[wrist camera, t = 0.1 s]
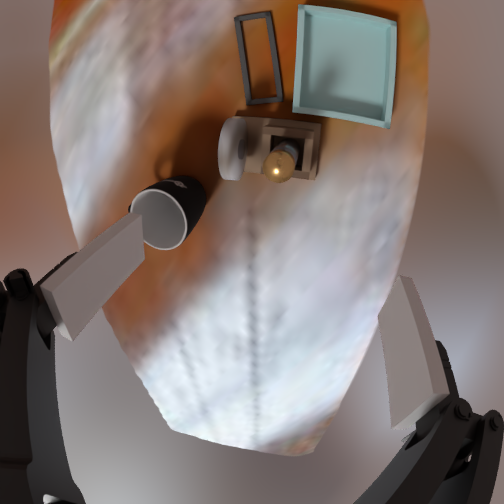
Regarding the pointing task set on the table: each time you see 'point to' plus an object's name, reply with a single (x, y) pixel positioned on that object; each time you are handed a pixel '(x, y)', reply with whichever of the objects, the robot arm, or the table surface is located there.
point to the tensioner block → (265, 145)
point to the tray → (345, 65)
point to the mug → (169, 210)
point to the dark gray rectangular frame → (244, 64)
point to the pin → (281, 161)
